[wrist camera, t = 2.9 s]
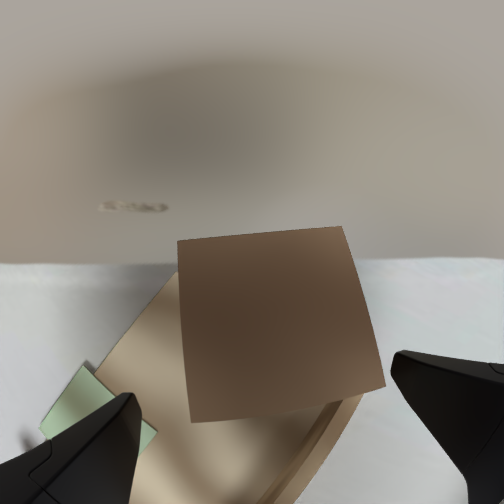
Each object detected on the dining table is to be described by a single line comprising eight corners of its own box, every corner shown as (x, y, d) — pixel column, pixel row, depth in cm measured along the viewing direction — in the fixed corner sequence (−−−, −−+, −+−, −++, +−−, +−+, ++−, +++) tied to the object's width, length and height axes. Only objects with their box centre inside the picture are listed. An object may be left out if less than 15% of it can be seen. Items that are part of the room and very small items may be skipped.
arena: (186, 587, 9) (179, 609, 6) (22, 460, 12) (-4, 462, 9) (351, 382, 18) (371, 377, 15) (167, 266, 22) (157, 243, 19)
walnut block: (289, 399, 17) (386, 386, 6) (220, 409, 17) (191, 422, 5) (278, 335, 19) (341, 226, 8) (211, 343, 19) (177, 240, 7)
